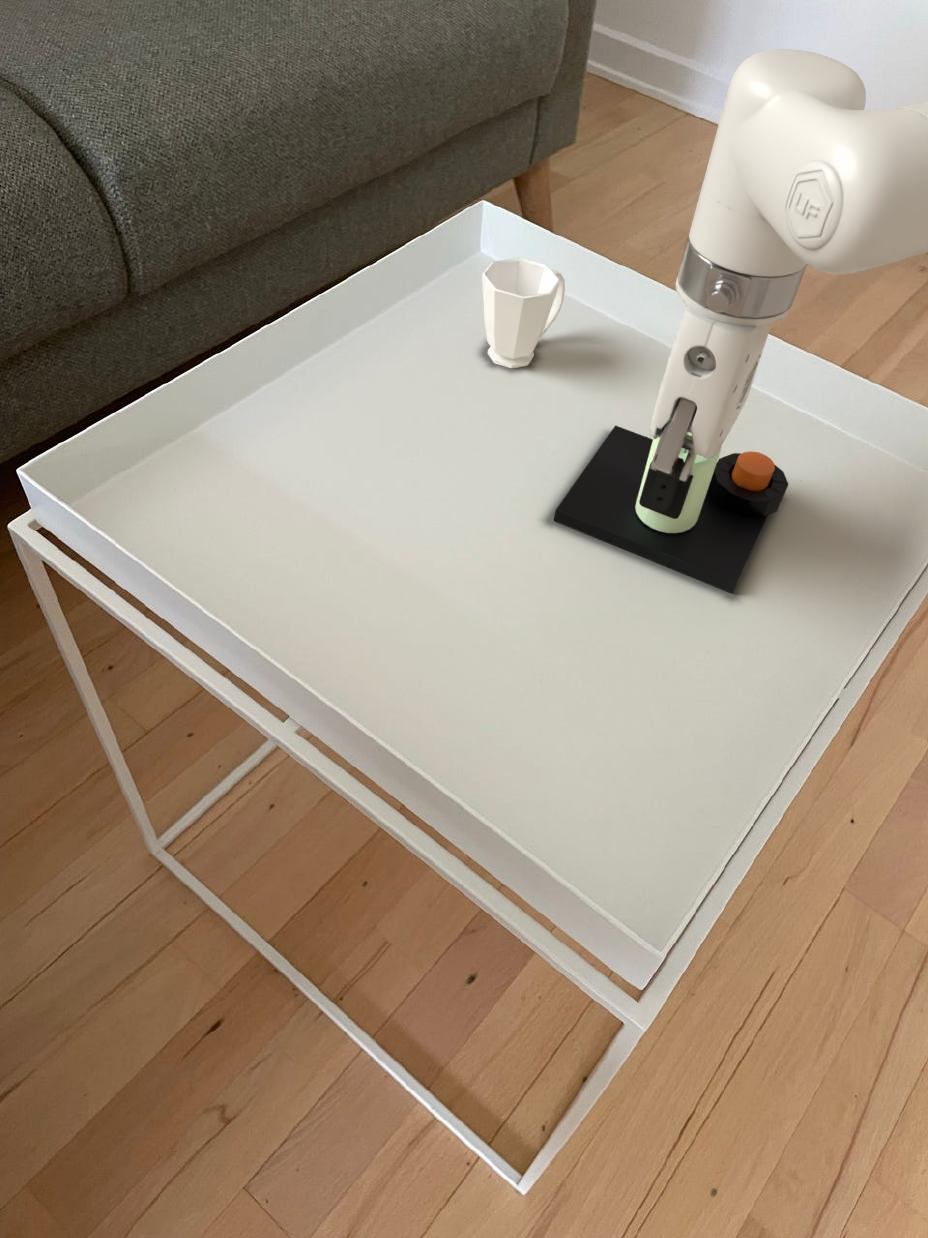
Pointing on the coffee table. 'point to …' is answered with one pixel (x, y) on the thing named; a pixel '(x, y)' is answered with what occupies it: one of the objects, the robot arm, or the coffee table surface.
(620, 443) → the scale
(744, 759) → the coffee table surface
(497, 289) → the cup
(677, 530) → the candle
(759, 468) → the button
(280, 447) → the coffee table surface
